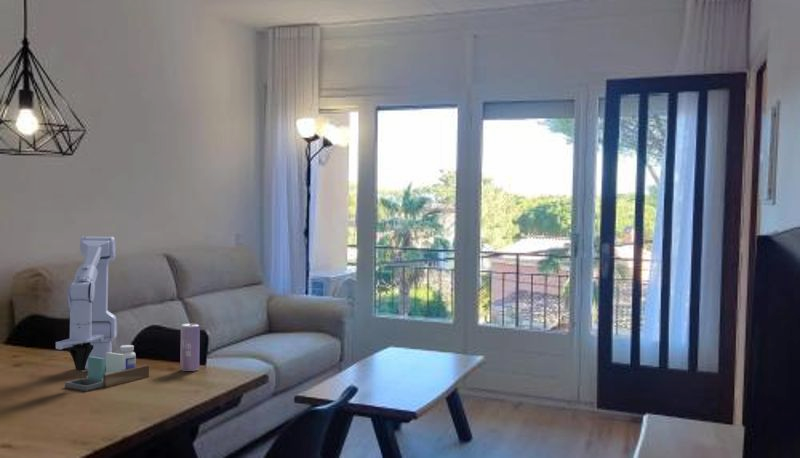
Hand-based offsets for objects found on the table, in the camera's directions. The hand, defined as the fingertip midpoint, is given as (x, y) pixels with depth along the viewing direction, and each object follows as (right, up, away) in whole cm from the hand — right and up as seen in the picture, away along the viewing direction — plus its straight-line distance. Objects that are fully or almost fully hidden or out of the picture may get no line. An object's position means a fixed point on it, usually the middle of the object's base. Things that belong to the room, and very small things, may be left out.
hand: (80, 369), depth 192 cm
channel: (+5, -5, +11) cm, 14 cm away
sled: (+4, -5, +8) cm, 10 cm away
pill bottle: (+7, -6, +15) cm, 17 cm away
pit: (+1, -5, +1) cm, 6 cm away
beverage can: (+24, -6, +26) cm, 35 cm away
